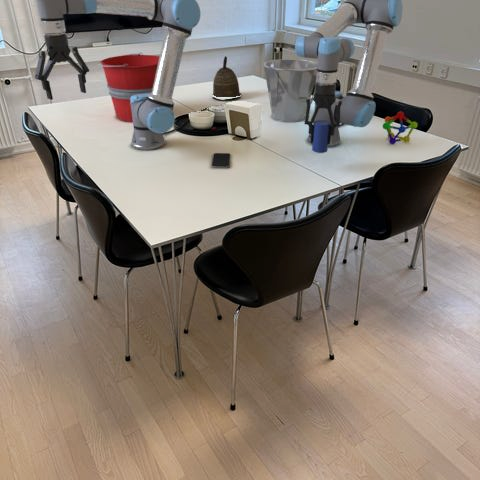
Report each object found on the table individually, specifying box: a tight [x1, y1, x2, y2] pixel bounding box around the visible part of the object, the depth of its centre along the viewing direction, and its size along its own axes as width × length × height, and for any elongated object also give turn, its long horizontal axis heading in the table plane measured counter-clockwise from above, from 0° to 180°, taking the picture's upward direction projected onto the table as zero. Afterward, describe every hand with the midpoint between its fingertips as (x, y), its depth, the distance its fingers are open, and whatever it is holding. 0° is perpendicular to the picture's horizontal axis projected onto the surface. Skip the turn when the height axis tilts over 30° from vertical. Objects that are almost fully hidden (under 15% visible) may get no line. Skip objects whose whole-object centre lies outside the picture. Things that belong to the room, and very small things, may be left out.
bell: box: [212, 56, 242, 97], centre depth 278 cm, size 19×26×20 cm
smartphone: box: [211, 152, 231, 169], centre depth 190 cm, size 7×1×15 cm
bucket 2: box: [263, 58, 318, 123], centre depth 238 cm, size 30×30×28 cm
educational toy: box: [382, 110, 418, 145], centre depth 207 cm, size 16×13×15 cm
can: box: [311, 120, 330, 154], centre depth 176 cm, size 6×6×12 cm
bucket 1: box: [97, 52, 160, 123], centre depth 239 cm, size 35×35×30 cm
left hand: (67, 95), depth 166 cm, fingers open, 13 cm apart
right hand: (320, 142), depth 177 cm, fingers closed on can, 6 cm apart
